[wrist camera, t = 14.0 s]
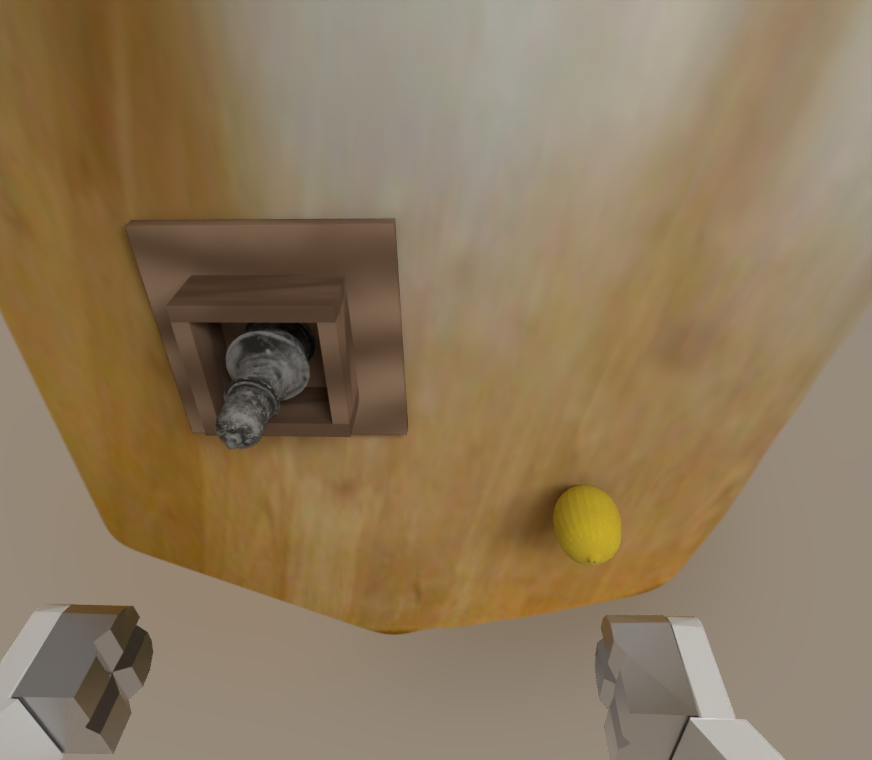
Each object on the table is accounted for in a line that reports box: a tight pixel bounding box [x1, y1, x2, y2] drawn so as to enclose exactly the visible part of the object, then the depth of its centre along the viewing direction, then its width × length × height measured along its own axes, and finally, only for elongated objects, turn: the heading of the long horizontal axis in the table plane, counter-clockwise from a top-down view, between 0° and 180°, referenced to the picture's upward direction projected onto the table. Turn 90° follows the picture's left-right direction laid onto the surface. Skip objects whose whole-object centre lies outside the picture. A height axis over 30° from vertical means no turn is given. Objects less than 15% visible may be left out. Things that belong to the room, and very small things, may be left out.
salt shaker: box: [215, 323, 316, 449], centre depth 41 cm, size 6×6×12 cm
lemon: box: [553, 485, 622, 565], centre depth 51 cm, size 6×6×8 cm
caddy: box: [125, 219, 408, 437], centre depth 44 cm, size 18×18×6 cm
